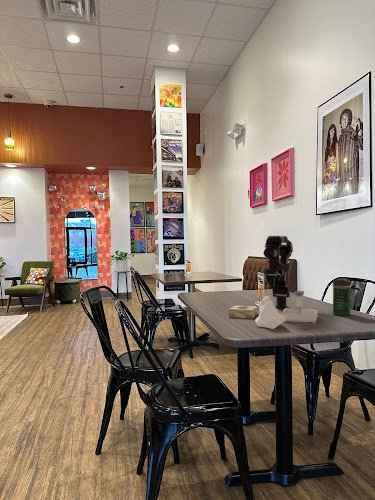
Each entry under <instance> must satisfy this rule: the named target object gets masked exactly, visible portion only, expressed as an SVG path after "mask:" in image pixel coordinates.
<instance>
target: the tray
mask: <svg viewBox="0 0 375 500" xmlns="http://www.w3.org/2000/svg"><path fill="white" fill-rule="evenodd" d="M303 310H304V314H296V308H288V307H287V308H283V310H282V312H281V313H280V314H281V315H283V316H285V319H286V321H285V322H293V323H294V322H295V323H307V322H312V323H311V324H316V323H317V320H318V317H319V314H318V309H309V308H308V309H307V308H306V309H305V308H303Z"/></svg>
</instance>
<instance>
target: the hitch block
mask: <svg viewBox="0 0 375 500" xmlns="http://www.w3.org/2000/svg"><path fill="white" fill-rule="evenodd" d="M257 315H258V306H255V305H253V306H252V305H233V306H232V307H230V308H229V309H228V318H241V319H242V318H243V319H253V318H255V317H256V316H257Z"/></svg>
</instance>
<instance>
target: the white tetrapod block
mask: <svg viewBox="0 0 375 500" xmlns="http://www.w3.org/2000/svg"><path fill="white" fill-rule="evenodd" d="M275 307H276V306H275V304H274V302H273V300H272V299H271V296H268V295H265V296H264V297H263V298H262V300H261V303H260V305H259V307H258V311H259V313H258V317H256V319H254V320H255V321H254V322H255V324H256V326H257V327H259V328H267V329H270V330H271V329H272V330H275V328H277V327H278V326H280V325H281V324H283V323H284V322H287V321H286V319H285V316H283V315H281V313H280V312H279V310H278V308H275Z"/></svg>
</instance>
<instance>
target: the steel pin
mask: <svg viewBox="0 0 375 500" xmlns="http://www.w3.org/2000/svg"><path fill="white" fill-rule="evenodd" d="M294 294H295V309H296V314H304V310H303V309H304V294H305V291H304V290H295V291H294Z"/></svg>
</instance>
